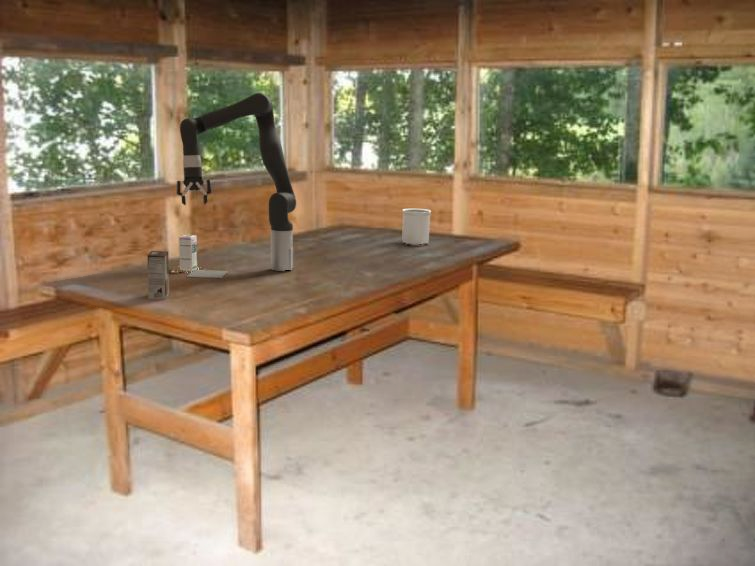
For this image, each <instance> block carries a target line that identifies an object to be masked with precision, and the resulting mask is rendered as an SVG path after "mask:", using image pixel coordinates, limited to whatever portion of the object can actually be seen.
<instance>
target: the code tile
mask: <svg viewBox="0 0 755 566" xmlns="http://www.w3.org/2000/svg"><path fill="white" fill-rule="evenodd" d="M199 267H200V266H199ZM199 267H198V270H199ZM195 270H197V269H195ZM193 271H194V270H193ZM186 272H187V271H186ZM186 272H185V273H184V274H189V273H188V272H187V273H186ZM191 272H192V271H191ZM170 273H179V272H178V271H177V272H175V271H174V269H172V270H171V271H170Z"/></svg>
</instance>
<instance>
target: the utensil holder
mask: <svg viewBox="0 0 755 566" xmlns="http://www.w3.org/2000/svg"><path fill="white" fill-rule="evenodd" d="M431 213H432V210H430V209H425V208H413V207H412V208H411V207H410V208H403V209H402V225H401V226H402V227H401V228H402V230H401V231H402V232H401V233H402V234H401V237H402V239H401V240H402V241H403V242H406V243H412V244H423V243H428V244H429V240H430V226H431Z"/></svg>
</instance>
